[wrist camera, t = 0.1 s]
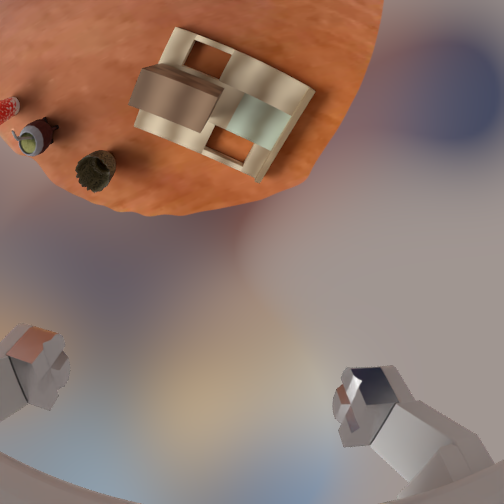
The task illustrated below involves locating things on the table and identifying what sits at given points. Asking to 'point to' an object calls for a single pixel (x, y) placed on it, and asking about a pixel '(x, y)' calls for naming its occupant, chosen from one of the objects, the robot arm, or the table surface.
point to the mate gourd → (35, 137)
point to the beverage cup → (8, 108)
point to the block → (175, 96)
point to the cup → (96, 170)
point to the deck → (236, 105)
